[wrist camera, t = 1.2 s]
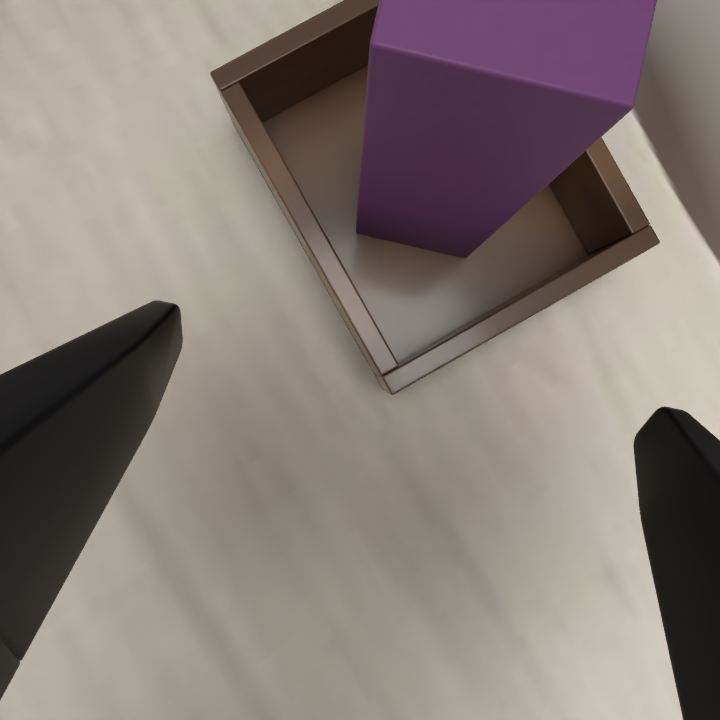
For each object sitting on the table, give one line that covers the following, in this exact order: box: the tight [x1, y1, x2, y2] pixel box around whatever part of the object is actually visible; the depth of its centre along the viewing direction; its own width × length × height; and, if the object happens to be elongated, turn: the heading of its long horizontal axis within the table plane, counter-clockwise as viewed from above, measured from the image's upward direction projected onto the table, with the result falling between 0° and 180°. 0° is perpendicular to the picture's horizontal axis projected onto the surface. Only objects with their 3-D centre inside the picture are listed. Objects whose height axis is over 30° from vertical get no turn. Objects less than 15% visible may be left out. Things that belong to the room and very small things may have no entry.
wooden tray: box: [210, 0, 660, 395], centre depth 21 cm, size 14×12×4 cm
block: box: [356, 0, 657, 258], centre depth 16 cm, size 5×5×13 cm
